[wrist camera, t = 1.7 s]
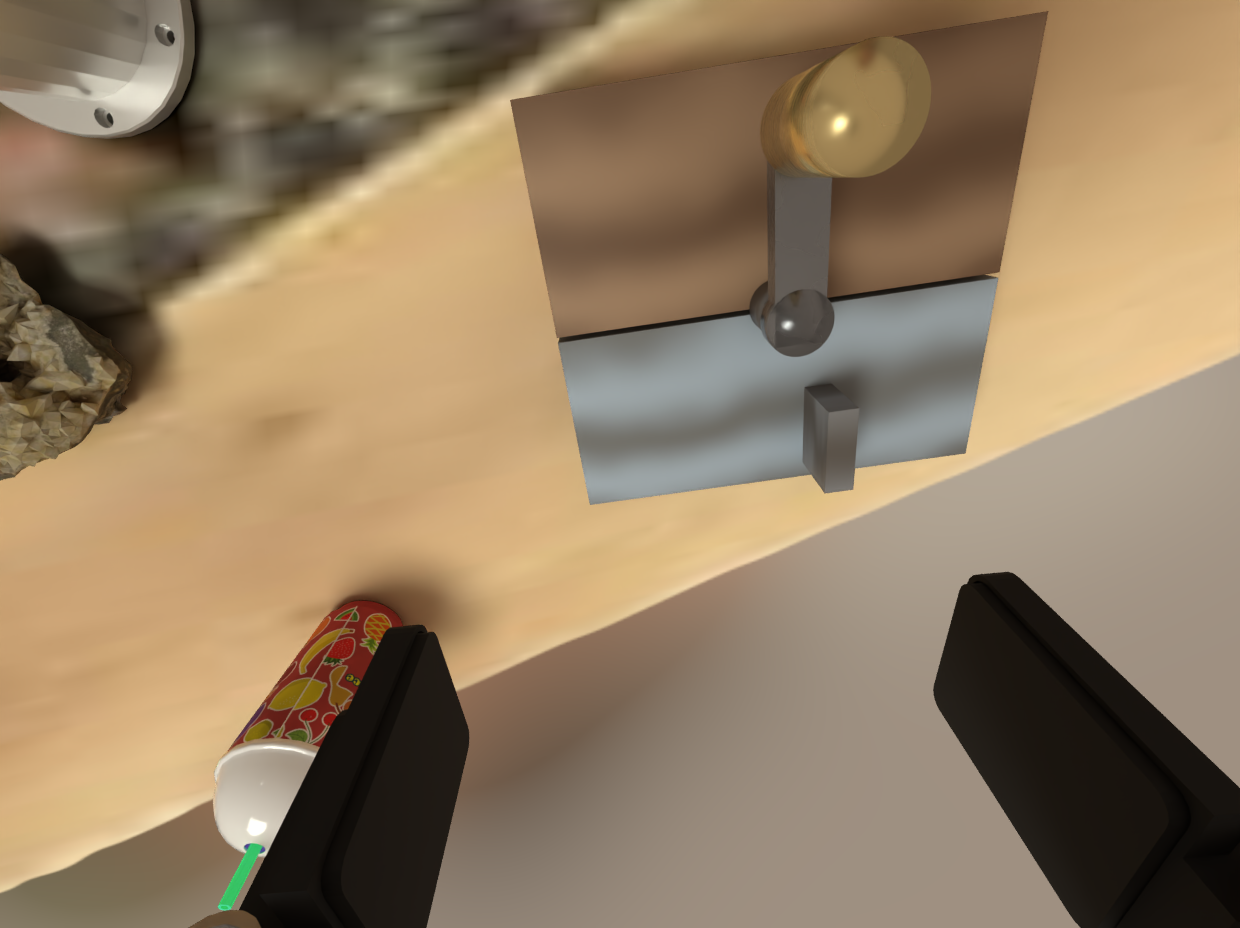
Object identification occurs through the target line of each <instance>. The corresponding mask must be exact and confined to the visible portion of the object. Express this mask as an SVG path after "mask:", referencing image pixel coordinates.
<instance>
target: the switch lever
mask: <svg viewBox="0 0 1240 928" xmlns="http://www.w3.org/2000/svg"><path fill="white" fill-rule="evenodd" d="M930 103H931V81H930V76H929V72H928V69H927V66H926V64H925V62H924V60H923V58H922V57H921V55H920V54H919V52H918V51H917V50H916V49H915V48H914V47H913V46H911V45H910V44H909V43H907V42H905V41H903V40H901V39H898V38H894V37H887V36H882V37H874V38H870V39H867V40H864V41H862V42H860V43H858V44H856V45H854V46H852V47H850V48H848V49H846V50H844V51H842V52H840V53H838V54H836V55H835V56H833V57H831V58H829V59H827V60H825V61H823V62H821V63H819V64H817V65H815V66H813V67H811V68H809V69H808V70H806V71H804V72H802V73H800V74H798V75H796V76H794V77H792V78H791V79H789V80H787V81H786V82H785V83H783V84H782V85H781V86H780V87H779V88H778V89H777V90H776V91H775V93H774V94H773V95H772V97H771V98H770V100H769V102H768V103H767V105H766V108H765V110H764V113H763V116H762V120H761V126H760V140H761V146H762V149H763V153H764V155H765V157H766V159H767V228H768V301H767V302H766V304H765V306H764V308H763V310H762V313H761V318H760V327H761V331H762V334H763V336H764V338H765V339H766V341H767V342H768V343H769V344H770V345H771V346H772V347H773V348H774V349H775V350H776V351H778V352H779V353H781V354H783V355H785V356H789V357H801V356H805V355H808V354H811V353H813V352H814V351H816V350H817V349H819V348H820V347H821V346H822V345H823V344H824V343H825V342H826V341H827V339H828V338H829V336H830V334H831V332H832V329H833V326H834V320H835V316H834V309H833V306H832V304H831V302H830V301H829V299H828V298H827V287H828V263H829V239H830V216H831V192H832V178H859V177H868V176H873V175H876V174H879V173H881V172H883V171H885V170H887V169H889V168H890V167H892V166H893V165H895V164H896V163H897V162H898V161H900V160H901V159H902V158H903V157H904V156H905V155H906V154H907V153H908V152H909V150H910V149H911V148H912V147H913V145H914V144H915V142H916V141H917V139H918V138H919V136H920V134H921V132H922V130H923V128H924V125H925V123H926V120H927V117H928V113H929V109H930Z"/></svg>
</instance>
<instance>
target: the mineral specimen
mask: <svg viewBox="0 0 1240 928" xmlns="http://www.w3.org/2000/svg"><path fill="white" fill-rule="evenodd" d="M131 379H132V365H131V364H130V363H129V362H128V361H127V360H126V359H125V358H124V357H122V356H121V355H120V354H119V353H118V352H117V351H116V350H115V349H114V348H113V347H112V344H111V339H109V338H107V337H105V336H103V335H101V334H99V333H98V332H96V331H95V330H93V329H92V328H90V327H89V326H87V325H86V324H85V323H84V322H82V321H81V320H79V319H76V318H74V317H72V316H70V315H68V314H66V313H64V312H62V311H60V310H58V309H56V308H54V307H52V306H50V305H45V304H42V302H41V299H40V296H39V294H38V292H36V291H35V290H33V289H32V288H31V287H30V286H29V285H27V284H26V283H25V282H24V280H23V279H22V277H21V276H20V274H19V273H18V271H17V269H16V267H15V265H14V264H13V263H12V262H11V261H10V260H9V259H7V258H6V257H4V256H3V255H1V254H0V480H3V479H7V478H12V477H15V476H16V475H17V474H18V473H19V472H20V471H21V470H22V469H24V468H26V467H28V466H34V467H35V465H36V463H38V462H41V461H43V460H46V459H49V458H51V459H56V458H57V456H58V455H59V454H60V453H62V452H65V451H67V450H69V449H71V448H73V447H75V446H77V445H78V444H79V443H81V442H82V441H83V440H84V438H85V437H86V436H87V435H88V434H89V432H90V431H91V429H92V427H93V425H94V424H104V423H109V422H110V421H111V419H112V418H113V416H115V415H118V414H120V413H122V412H123V411H125V410H126V409H127V408H126V407H125V406H123V405H122V404H121V403H120V399H121V395H123V394H125V392H124V391H125V390H127V389H128V383H129V381H130V380H131Z"/></svg>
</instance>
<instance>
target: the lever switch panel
mask: <svg viewBox="0 0 1240 928" xmlns="http://www.w3.org/2000/svg"><path fill="white" fill-rule="evenodd" d="M1047 14H1048V11H1047V12H1041V13H1035V14H1029V15H1023V16H1016V17H1010V18H1004V19H998V20H992V21H986V22H980V23H974V24H968V25H962V26H956V27H950V28H944V29H938V30H932V31H926V32H920V33H913V34H907V35H901V36H895V37H894V38H898V39H901V40H903V41H905V42H907V43H909V44H910V45H911V46H913V47H914V48H915V49H916V50H917V51H918V52H919V54H920V55H921V57H922V58H923V60H924V62H925V64H926V66H927V69H928V72H929V76H930V81H931V103H930V109H929V113H928V117H927V120H926V123H925V125H924V128H923V130H922V132H921V134H920V136H919V138H918V139H917V141H916V142H915V144H914V145H913V147H912V148H911V149H910V150H909V152H908V153H907V154H906V155H905V156H904V157H903V158H902V159H901V160H900V161H898V162H897V163H896V164H895V165H893V166H892V167H890V168H889V169H887V170H885V171H883V172H881V173H879V174H876V175H873V176H868V177H859V178H832V192H831V216H830V239H829V263H828V287H827V298H828V299H829V301H830V302H831V304H832V306H833V309H834V316H835V320H834V326H833V329H832V332H831V334H830V336H829V338H828V339H827V341H826V342H825V343H824V344H823V345H822V346H821V347H820V348H819V349H817V350H816V351H814V352H813V353H811V354H808V355H805V356H801V357H789V356H785V355H783V354H781V353H779V352H778V351H776V350H775V349H774V348H773V347H772V346H771V345H770V344H769V343H768V342H767V341H766V339H765V338H764V336H763V334H762V331H761V327H760V318H761V313H762V310H763V308H764V306H765V304H766V302H767V301H768V228H767V159H766V157H765V155H764V153H763V149H762V146H761V140H760V126H761V120H762V116H763V113H764V110H765V108H766V105H767V103H768V102H769V100H770V98H771V97H772V95H773V94H774V93H775V91H776V90H777V89H778V88H779V87H780V86H781V85H782V84H783V83H785V82H786V81H787V80H789V79H791V78H792V77H794V76H796V75H798V74H800V73H802V72H804V71H806V70H808V69H809V68H811V67H813V66H815V65H817V64H819V63H821V62H823V61H825V60H827V59H829V58H831V57H833V56H835V55H836V54H838V53H840V52H842V51H844V50H846V49H848V48H850V47H852V46H854V45H856V44H858V43H853V44H847V45H841V46H835V47H829V48H823V49H816V50H810V51H804V52H798V53H792V54H786V55H780V56H774V57H768V58H762V59H756V60H750V61H744V62H738V63H732V64H726V65H720V66H713V67H707V68H701V69H695V70H689V71H683V72H677V73H671V74H665V75H659V76H653V77H647V78H641V79H635V80H629V81H623V82H616V83H610V84H604V85H598V86H592V87H586V88H580V89H574V90H568V91H562V92H556V93H550V94H544V95H538V96H532V97H526V98H519V99H513V100H510V102H511V107H512V112H513V117H514V122H515V127H516V132H517V137H518V142H519V147H520V152H521V157H522V162H523V167H524V173H525V178H526V183H527V188H528V193H529V198H530V203H531V208H532V213H533V218H534V223H535V228H536V233H537V238H538V244H539V249H540V254H541V259H542V264H543V269H544V274H545V279H546V284H547V289H548V294H549V299H550V304H551V309H552V315H553V320H554V325H555V330H556V335H557V338H559V342H558V345H559V350H560V355H561V360H562V365H563V370H564V375H565V381H566V386H567V391H568V396H569V401H570V406H571V411H572V416H573V421H574V426H575V431H576V436H577V441H578V446H579V452H580V457H581V462H582V467H583V472H584V477H585V482H586V487H587V492H588V497H589V502H590V505H592V504H600V503H607V502H614V501H622V500H629V499H636V498H643V497H651V496H658V495H665V494H673V493H680V492H687V491H695V490H702V489H709V488H716V487H724V486H731V485H738V484H746V483H753V482H760V481H767V480H775V479H782V478H789V477H797V476H804V475H812V476H813V478H814V479H815V480H816V482H817V483H818V485H819V486H820V487H821V489H822V490H823V492H824V493H831V492H839V491H846V490H853V485H854V473H855V468H862V467H869V466H877V465H884V464H891V463H899V462H906V461H913V460H920V459H928V458H935V457H942V456H950V455H957V454H964V453H966V448H967V442H968V437H969V432H970V426H971V421H972V416H973V410H974V405H975V400H976V394H977V389H978V384H979V378H980V373H981V368H982V362H983V357H984V352H985V346H986V341H987V335H988V330H989V325H990V319H991V314H992V309H993V303H994V298H995V293H996V287H997V282H998V278H996V277H992V276H988V275H984V274H990V273H997V272H999V271H1000V266H1001V261H1002V255H1003V250H1004V245H1005V239H1006V234H1007V228H1008V223H1009V218H1010V212H1011V207H1012V202H1013V196H1014V191H1015V186H1016V180H1017V175H1018V170H1019V164H1020V159H1021V154H1022V148H1023V143H1024V138H1025V132H1026V127H1027V121H1028V116H1029V111H1030V105H1031V100H1032V95H1033V89H1034V84H1035V79H1036V73H1037V68H1038V63H1039V57H1040V52H1041V47H1042V41H1043V36H1044V31H1045V25H1046V20H1047ZM859 43H860V42H859Z"/></svg>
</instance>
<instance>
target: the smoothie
mask: <svg viewBox="0 0 1240 928" xmlns="http://www.w3.org/2000/svg"><path fill="white" fill-rule="evenodd" d="M400 626H403V624H402V622H401V619H400V618H399V617H398V616H397V614H396V613H395V612H394V611H392V610H391V609H389V608H388V607H386V606H384V605H382V604H379V603H376V602H371V601H364V600H363V601H353V602H350V603H348V604H345V605H343V606H342V607H341V608H340V609H337V610H335V611H332V612H331V613H330V614H329V615H327V616H326V617H325V618H324V619H323V621H322V622H321V624H320V625H319V626H318V628H317V629H316V630H315V632H314V633H313V635H312V636H311V637H310V639H309V640H308V641H307V643H306V644H305V645H304V647H303V648H302V650H301V651H300V652H299V654H298V655H297V656H296V658H295V659H294V661H293V662H292V663H291V665H290V666H289V667H288V669H287V670H286V671H285V673H284V674H283V676H282V677H281V678H280V680H279V681H278V682H277V684H276V685H275V687H274V688H273V689H272V691H271V692H270V693H269V695H268V696H267V697H266V699H265V700H264V702H263V703H262V704H261V706H260V707H259V708H258V710H257V711H256V713H255V714H254V715H253V717H252V718H251V719H250V721H249V722H248V723H247V725H246V726H245V728H244V729H243V730H242V732H241V733H240V734H239V736H238V737H237V738H236V740H235V741H234V743H233V744H232V745H231V747H230V748H229V750H228V752H227V753H225V754H224V755H223V756H222V757H221V758H220V760H219V762H218V764H217V766H216V768H215V771H214V776H215V783H216V785H215V790H214V797H213V806H214V815H215V822H216V825H217V828H218V831H219V832H220V833H221V835H222V836H223V838H224V839H225V840H226V842H227V843H228V844H230V845H231V846H232V847H233V848H235V849H236V850H238V851H240V852H242V853H244V854H245V856H244V858H243V859H242V861H241V863H240V865H239V867H238V869H237V871H236V873H235V875H234V877H233V878H232V880H231V882H230V884H229V886H228V888H227V890H226V892H225V894H224V896H223V898H222V899H221V902H220V904H219V905H218V908H219V909H221V910H230V909H231V908H232V906H233V904H234V902H235V900H236V898H237V896H238V894H239V892H240V890H241V888H242V886H243V884H244V882H245V880H246V878H247V876H248V874H249V872H250V870H251V868H252V866H253V864H254V862H255V860H256V858H257V857H265V856H266V854H267V852H268V850H269V848H270V846H271V844H272V842H273V840H274V838H275V836H276V834H277V832H278V830H279V828H280V826H281V824H282V822H283V820H284V818H285V816H286V814H287V812H288V810H289V808H290V806H291V804H292V802H293V800H294V798H295V796H296V794H297V792H298V790H299V788H300V786H301V784H302V782H303V780H304V778H305V776H306V774H307V772H308V770H309V768H310V766H311V764H312V762H313V760H314V758H315V756H316V754H317V752H318V750H319V748H320V746H321V744H322V742H323V740H324V738H325V736H326V734H327V732H328V730H329V728H330V726H331V724H332V722H333V721H334V719H335V718H336V716H337V715H338V714H339V713H340V712H341V711H343V710H345V709H348V708H349V706H350V704H351V701H352V699H353V697H354V695H355V693H356V691H357V689H358V687H359V685H360V683H361V681H362V679H363V676H364V674H365V672H366V670H367V668H368V666H369V664H370V662H371V660H372V658H373V656H374V653H375V651H376V649H377V647H378V645H379V643H380V641H381V639H382V637H383V635H384V633H385V632H386V630H387V629H388V628H390V627H400Z"/></svg>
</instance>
